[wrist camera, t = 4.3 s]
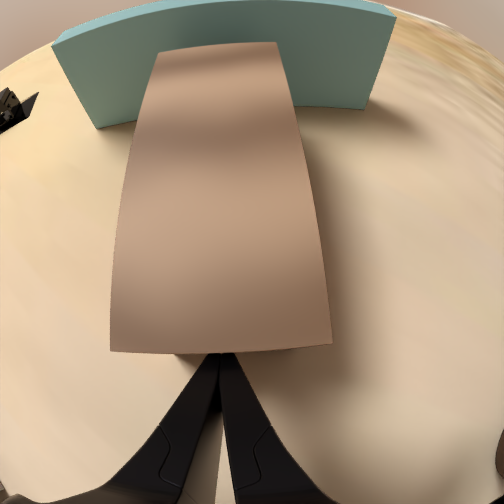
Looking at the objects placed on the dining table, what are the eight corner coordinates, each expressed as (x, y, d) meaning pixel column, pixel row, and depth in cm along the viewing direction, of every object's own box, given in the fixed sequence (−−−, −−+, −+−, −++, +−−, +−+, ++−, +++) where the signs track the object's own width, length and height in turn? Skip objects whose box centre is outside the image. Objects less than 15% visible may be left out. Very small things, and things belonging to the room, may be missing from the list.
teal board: (364, 109, 22) (396, 17, 13) (96, 129, 22) (50, 46, 12) (340, 60, 25) (357, -17, 15) (117, 76, 25) (89, 4, 15)
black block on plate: (50, 86, 26) (37, 63, 22) (37, 120, 24) (19, 95, 20) (-9, 122, 26) (-24, 104, 21) (-24, 158, 23) (-42, 140, 19)
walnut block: (296, 348, 16) (333, 343, 8) (174, 354, 16) (110, 351, 8) (271, 128, 21) (276, 41, 14) (181, 135, 21) (158, 52, 14)
